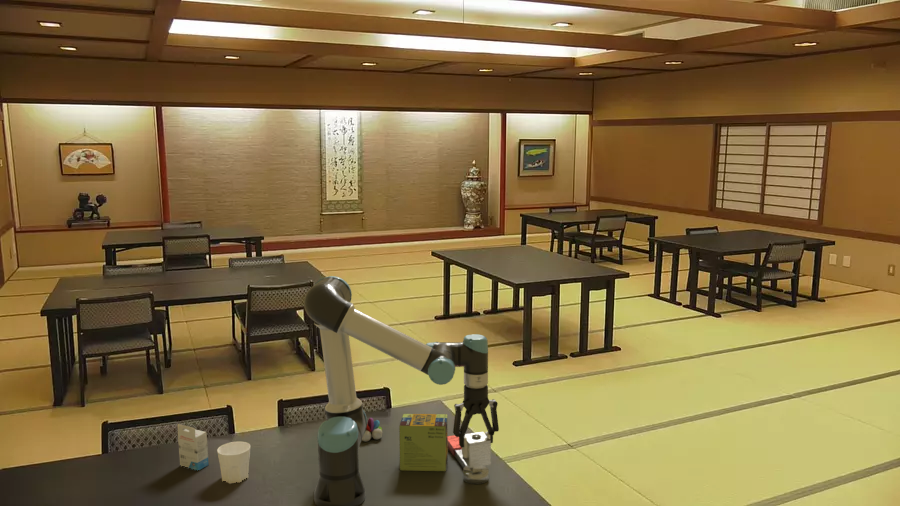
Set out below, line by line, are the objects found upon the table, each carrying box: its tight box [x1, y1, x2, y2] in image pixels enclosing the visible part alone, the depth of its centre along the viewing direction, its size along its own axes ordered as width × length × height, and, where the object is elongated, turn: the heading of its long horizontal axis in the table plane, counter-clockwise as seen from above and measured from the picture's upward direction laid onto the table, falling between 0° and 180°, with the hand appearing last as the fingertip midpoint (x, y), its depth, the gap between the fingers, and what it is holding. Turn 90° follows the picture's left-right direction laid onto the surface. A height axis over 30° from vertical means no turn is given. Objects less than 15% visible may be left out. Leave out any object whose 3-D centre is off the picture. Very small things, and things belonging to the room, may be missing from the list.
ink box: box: [177, 423, 209, 472], centre depth 226 cm, size 8×5×15 cm, turn 62°
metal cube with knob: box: [463, 431, 492, 468], centre depth 216 cm, size 7×7×8 cm
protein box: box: [398, 413, 449, 472], centre depth 227 cm, size 10×15×16 cm
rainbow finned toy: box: [361, 417, 384, 443], centre depth 249 cm, size 8×10×7 cm
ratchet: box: [448, 434, 490, 485], centre depth 228 cm, size 8×31×8 cm, turn 17°
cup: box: [216, 441, 251, 485], centre depth 218 cm, size 10×10×10 cm
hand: (476, 454), depth 216 cm, fingers closed on metal cube with knob, 7 cm apart
